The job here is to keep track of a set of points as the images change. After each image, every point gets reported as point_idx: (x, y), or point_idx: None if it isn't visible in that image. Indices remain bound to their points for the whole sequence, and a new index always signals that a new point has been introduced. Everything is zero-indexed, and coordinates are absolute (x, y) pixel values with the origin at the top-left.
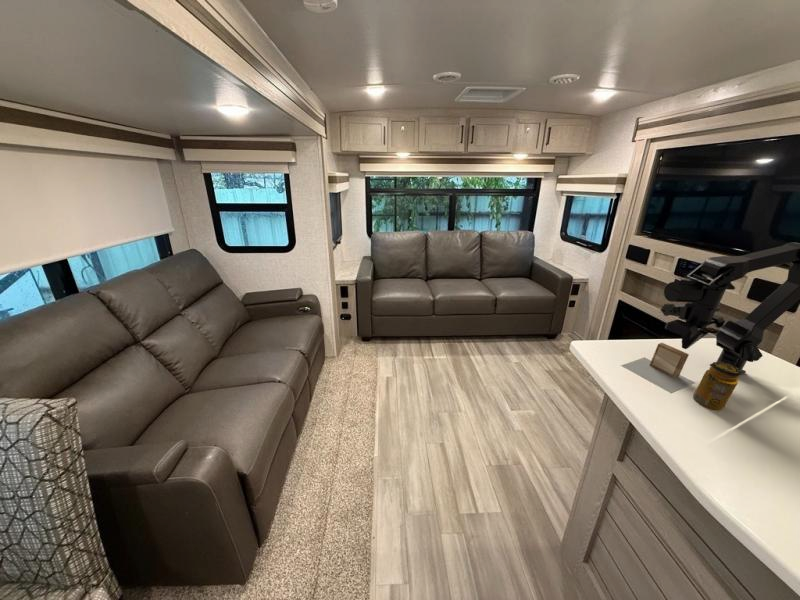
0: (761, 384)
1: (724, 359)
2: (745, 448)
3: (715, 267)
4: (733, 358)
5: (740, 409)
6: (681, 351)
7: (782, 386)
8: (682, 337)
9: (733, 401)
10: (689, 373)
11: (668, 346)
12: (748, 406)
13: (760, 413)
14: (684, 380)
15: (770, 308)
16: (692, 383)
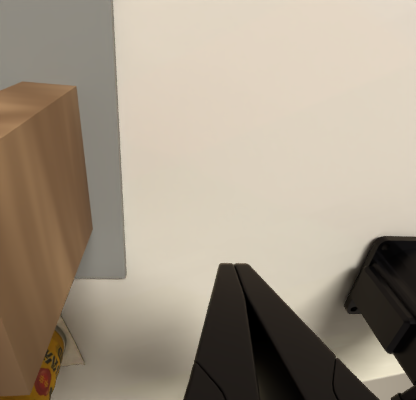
0: (361, 344)
1: (395, 326)
2: None
3: None
4: (409, 363)
5: (112, 375)
6: (4, 359)
7: (398, 362)
8: (190, 387)
9: (142, 356)
10: (207, 226)
11: None
12: (158, 374)
13: (151, 392)
14: (88, 253)
15: None
16: (102, 276)
